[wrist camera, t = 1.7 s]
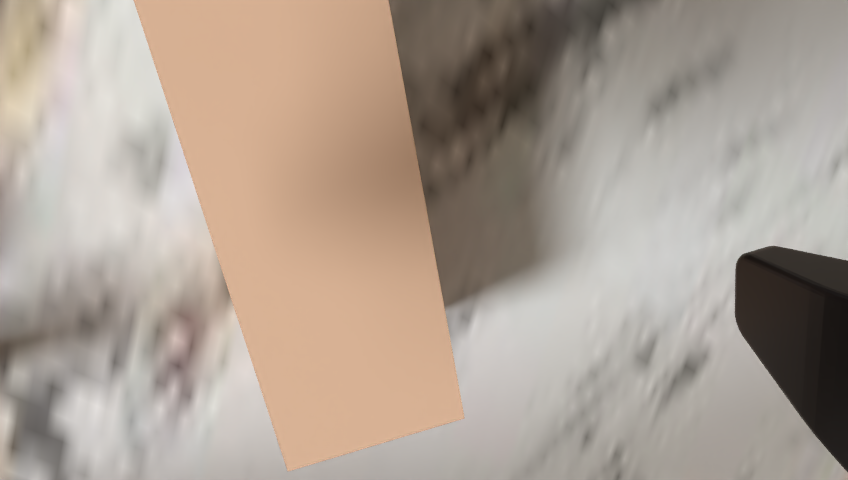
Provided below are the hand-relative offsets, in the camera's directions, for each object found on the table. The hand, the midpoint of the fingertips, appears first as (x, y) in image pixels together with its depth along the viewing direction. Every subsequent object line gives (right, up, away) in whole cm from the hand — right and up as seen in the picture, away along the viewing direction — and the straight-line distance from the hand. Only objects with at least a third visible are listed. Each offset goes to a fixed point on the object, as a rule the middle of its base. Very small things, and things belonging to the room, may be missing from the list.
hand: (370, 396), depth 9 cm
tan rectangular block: (-2, +4, +8) cm, 9 cm away
